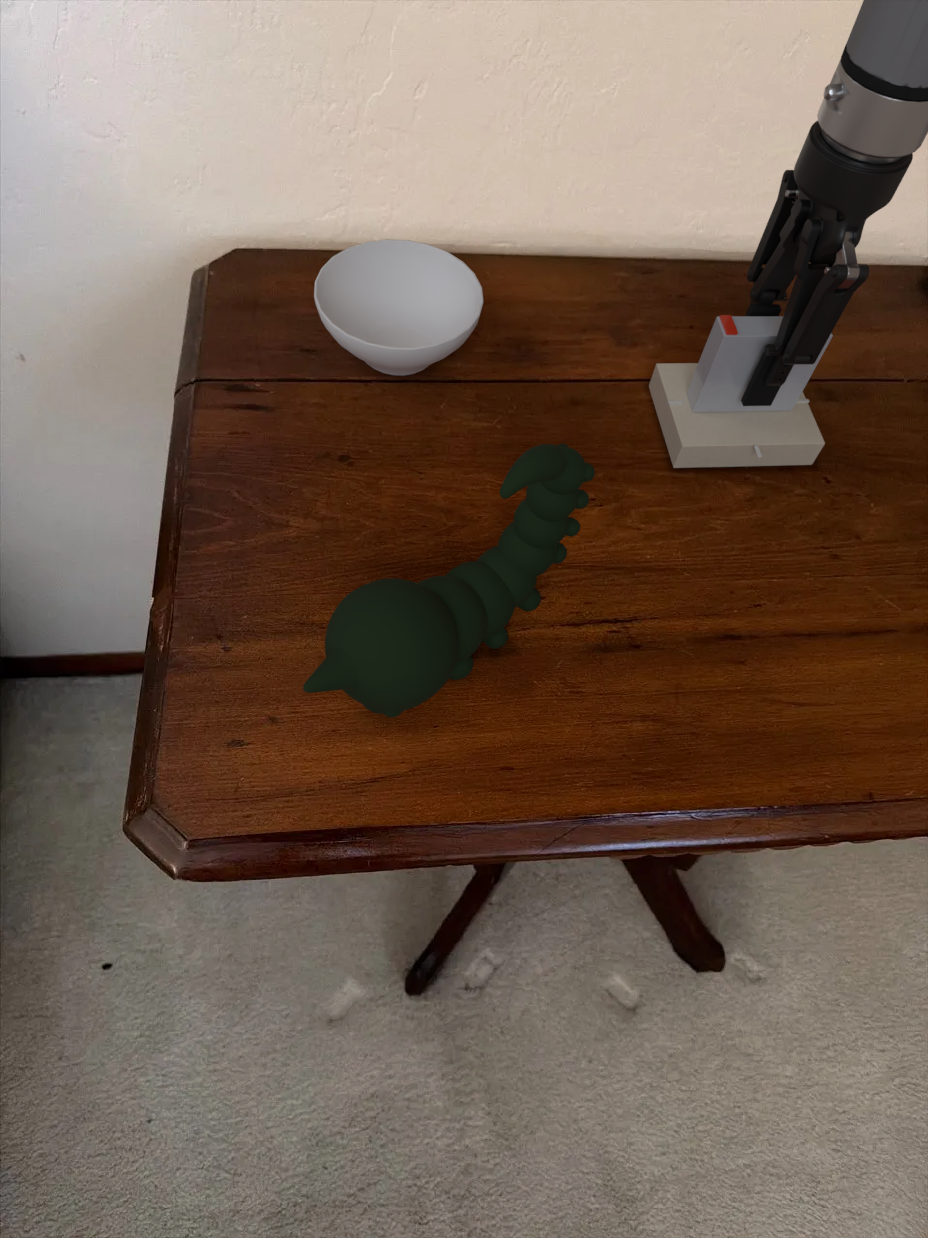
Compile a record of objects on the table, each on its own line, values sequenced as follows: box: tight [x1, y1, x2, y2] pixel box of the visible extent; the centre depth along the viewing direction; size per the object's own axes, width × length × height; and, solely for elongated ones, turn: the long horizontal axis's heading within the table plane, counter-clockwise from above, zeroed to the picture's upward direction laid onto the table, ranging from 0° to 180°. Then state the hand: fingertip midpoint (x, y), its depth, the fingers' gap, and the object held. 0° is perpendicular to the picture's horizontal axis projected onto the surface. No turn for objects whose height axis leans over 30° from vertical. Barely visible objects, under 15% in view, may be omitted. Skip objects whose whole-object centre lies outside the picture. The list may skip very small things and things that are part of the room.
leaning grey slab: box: [687, 314, 834, 412], centre depth 81 cm, size 10×3×9 cm, turn 96°
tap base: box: [648, 362, 826, 469], centre depth 86 cm, size 14×14×3 cm
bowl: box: [313, 238, 484, 376], centre depth 86 cm, size 16×16×7 cm
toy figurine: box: [302, 442, 596, 719], centre depth 63 cm, size 9×19×25 cm
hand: (748, 382), depth 83 cm, fingers open, 4 cm apart
